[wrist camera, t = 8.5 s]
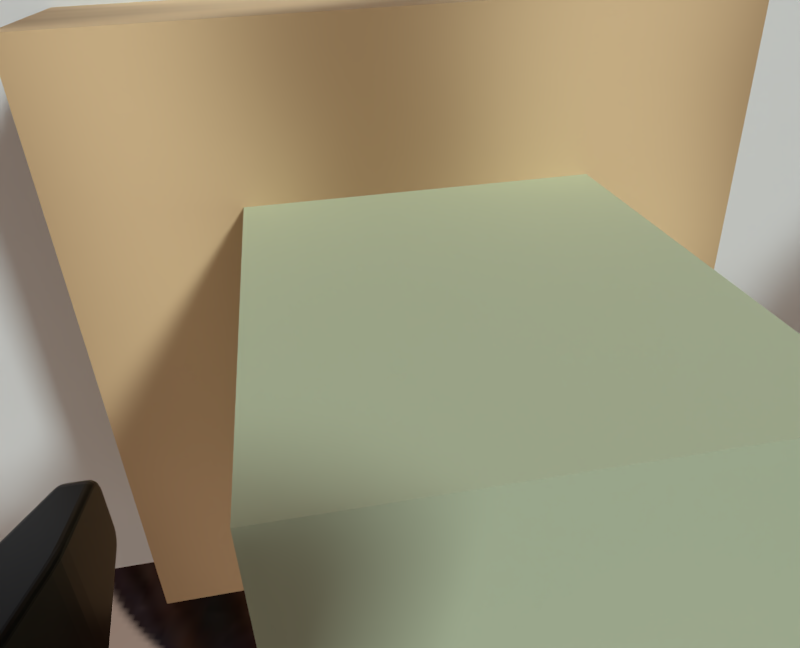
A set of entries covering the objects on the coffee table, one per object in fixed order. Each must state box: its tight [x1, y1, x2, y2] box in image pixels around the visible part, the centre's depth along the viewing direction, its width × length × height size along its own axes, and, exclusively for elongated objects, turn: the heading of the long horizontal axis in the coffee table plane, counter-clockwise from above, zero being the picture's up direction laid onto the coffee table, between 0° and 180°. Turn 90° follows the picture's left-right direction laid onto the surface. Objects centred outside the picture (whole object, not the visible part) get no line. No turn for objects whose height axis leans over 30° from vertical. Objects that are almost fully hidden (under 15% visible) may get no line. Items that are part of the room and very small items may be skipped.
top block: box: [230, 174, 800, 648], centre depth 9 cm, size 5×5×6 cm
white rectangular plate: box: [0, 0, 800, 568], centre depth 14 cm, size 20×14×1 cm
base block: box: [0, 0, 769, 604], centre depth 13 cm, size 10×10×3 cm
